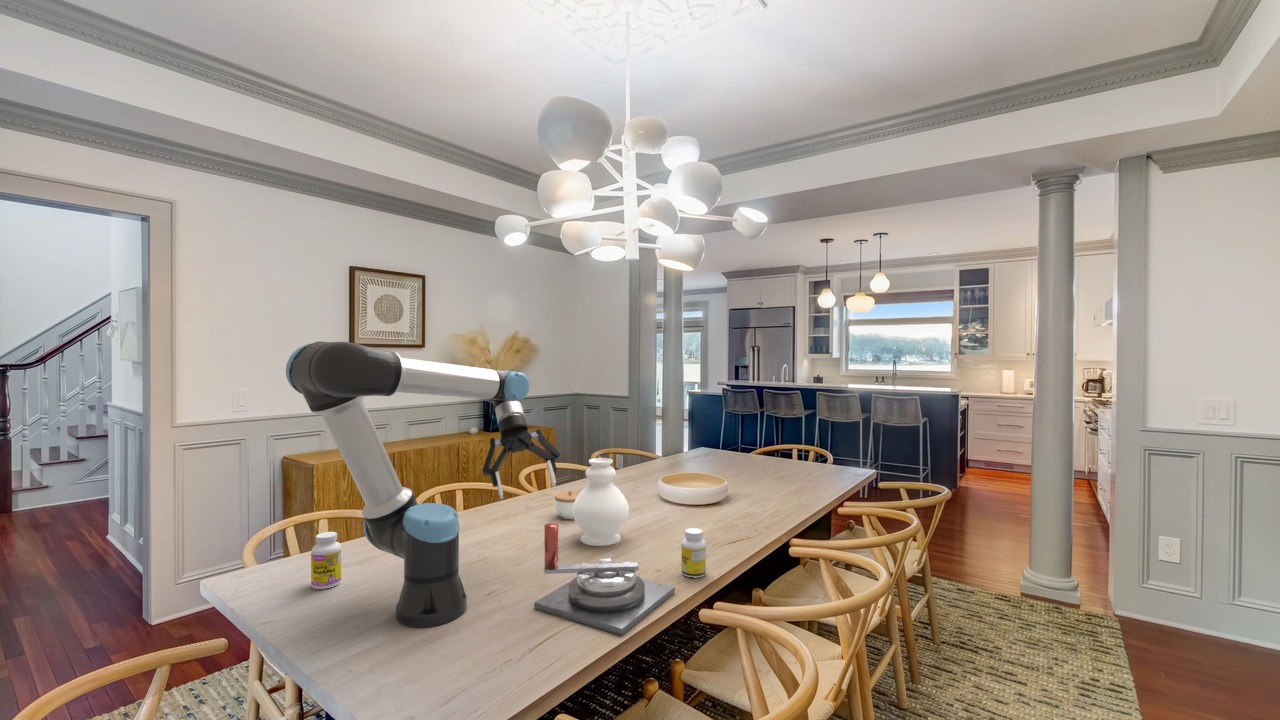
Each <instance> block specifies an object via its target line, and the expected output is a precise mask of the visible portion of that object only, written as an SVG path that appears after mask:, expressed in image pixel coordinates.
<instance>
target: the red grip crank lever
mask: <svg viewBox="0 0 1280 720" xmlns="http://www.w3.org/2000/svg"><path fill="white" fill-rule="evenodd" d="M543 533H544V534H543V535H544V539H543V540H544V568H543V574H544V575H549V574H550V575H551V574H552V575H554V574H555V575H556V574H575V573H577V574H576V577H577V587H578V589H579V590H580V591H581V592H583V593H585V594H588V595H592V596H598V597H612V596H618V595H622V594H625V593H628V592H630V591H632V590H633V589H634V588H635V586H636V576H637V572H636V571H639V562H630V561H625V562H612V558H611V557H610V558H600V562H599V563H584V562H583V563H580V564H562V565H561V564H559V524H558V523H556V522H550V523H549V522H548V523H545V524H544V531H543Z"/></svg>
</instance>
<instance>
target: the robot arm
mask: <svg viewBox="0 0 1280 720" xmlns="http://www.w3.org/2000/svg"><path fill="white" fill-rule="evenodd" d="M285 376H286V379H287V382H288V384H289V385H290V387H292V389H294V390H295V391H296V392H297V393H299V394H302V396H303V398H304V400H305V402H306V404H307V406H308V407H309V410H310V411H311V413H313V414H316V415H319V416H321V417H322V418H323V420H324V422H325V425H326V426H327V429H328V430H329V432H330V435H331V436H332V439H333V441H334V443H335V445H336V446H337V449H338V450H339V453H340V455H341V457H342V459H343V461H344V463H345V465H346V467H347V470H348V471H349V473H350V475H351V478H352V479H353V481H354V483H355V486H356V487H357V489H358V491H359V494H360V496H361V498H362V500H363V502H364V504H365V505H364V507H363V508H362V510H361V511H362V512H361V513H362V517H363V519H364V522H363V532H364V535H365V538H366V540H368V542H369V543H370V544H371V545H373V547H374V548H376V549H378V550H379V551H383V552H385V553H388V554H391V555H393V556H395V557H398V558H401V559H403V573H404V574H403V577H404V578H403V583H402V584H403V585H402V587H401V592H400V593H399V599H398V601H397V604H396V606H395V620H396V621H397V622H398V624H400V625H403V626H406V627H411V628H425V627H426V628H427V627H428V628H429V627H434V626H438V625H442V624H446V623H449V622H451V621H453V620H456V619H458V618H459V617H460V616H462V615H463V614H464V613H465V612H466V610H467V608H468V603H467V602H468V601H467V600H468V599H467V598H468V597H467V593H466V592H465V588H464V585H463V583H462V580H461V577H460V574H459V573H460V572H459V569H460V568H459V567H460V566H459V565H460V564H459V563H460V562H459V561H460V557H459V555H460V551H459V550H460V547H459V542H460V541H459V539H460V537H459V536H460V535H459V534H460V533H459V532H460V523H459V515H458V512H457V511H456V509H455V508H453V507H452V506H450V505H447V504H444V503H434V502H425V503H419V504H418V501H417V500H416V497H415V495H414V493H413V490H412V489H411V488H409V487H405V486H402V484H401V483H402V482H401V481H400V479H399V477H398V474H397V472H396V471H395V468H394V466H393V463H392V461H391V459H390V457H389V455H388V453H387V450H386V448H385V446H384V444H383V442H382V439H381V437H380V435H379V433H378V431H377V428H376V426H375V424H374V422H373V420H372V418H371V416H370V413H369V411H368V409H367V407H366V404H365V401H364V397H373V396H377V397H379V396H380V397H391V396H394V395H395V394H396V393H401V394H402V393H403V394H416V395H430V396H431V395H432V396H444V397H458V398H469V399H470V398H471V399H476V400H481V401H485V402H489V403H492V404H493V408H494V411H495V417H496V420H497V424H498V425H497V426H498V430H499V433H500V435H499V436H500V439H498V438H497V439H495V438H493V437H491V438H490V439H489V442H490V443H489V444H490V445H489V446H490V447H489V449H488V452H487V455H486V458H485V461H484V465H483V467H482V475H483V476H485V477H487V476H489V477H490V479H491V484H492V487H493V488H496V487H497V491H498V496H499V499H500V500H504V491H503V487H502V481H501V477H500V472H499V470H500V468H501V466H502V464H503V463H504V461H505V460H506V458H507V457H508V456H509V455H510V453H513V454H515V453H518V452H525V450H527V451H529V452H532V453H533V454H535V456H537V457H539V458H540V459H542V460H544V461H545V462H546V467H547V471H548V474H549V479H550V482H551V485H552V488H554V487H556V486H557V479H556V476H555V474H557V465H556V461H559V460H560V456H561V453H560V452H559V451H558V450H557V449H556V447H554V446H553V445H552V444H551V443H550V442H549V440H548V439H547V438H546V437H545V436H544V435H543V433H542V430H541V429H536V431H534V432H530V431H529V427H528V423H527V420H526V417H525V412H524V408H523V404H522V402H521V401H522V400H524V399H525V398H526V397H527V396H528V394H529V392H530V391H529V390H530V380H529V378H528V376H526V375H525V373H523V372H518V371H514V370H512V371H509V370H507V369H505V370H499V369H493V368H492V369H491V368H483V367H476V366H470V365H469V366H468V365H461V364H454V363H445V362H440V361H439V362H438V361H433V360H432V361H431V360H430V361H429V360H423V359H415V358H408V357H401V356H400V354H398V353H397V352H396V351H390V350H384V349H380V348H375V347H370V346H366V345H364V344H363V345H362V344H358V343H354V342H349V341H315V342H311V343H307V344H304V345H302V346H299V348H296V350H294V351H293V352H292V354H291V355H290V357H289V358H288V361H287V362H286V367H285ZM532 439H534V440H535V441H537V442H538V443H539V444H540V446H541V447H543V448H544V449H543V448H541V447H540V446H539V445H537V444H535V443H534V441H532ZM500 445H501V446H502V447H503V448H502V451H501V452H500V454H499V456H498V457H497V458H496V460H495V462H494V463H493V465H492V462H493V459H494V455H495V453H496V449H498V447H499V446H500ZM491 465H492V466H491Z"/></svg>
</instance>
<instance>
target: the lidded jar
mask: <svg viewBox="0 0 1280 720" xmlns="http://www.w3.org/2000/svg"><path fill="white" fill-rule="evenodd" d="M580 492H581V491H572V490H568V491H563V492H559V493H556V494H555V496H554V502H555V503H554V504H555V510H556V512H557V514H558V515H559V516H560V517H561V518H562V517H563V518H566V519H565V520H573V519H572V518H573V515H572V508H573V504H574V502H575V500H576V498H577V497H578V495H579V494H580ZM563 518H562V519H563Z"/></svg>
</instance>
